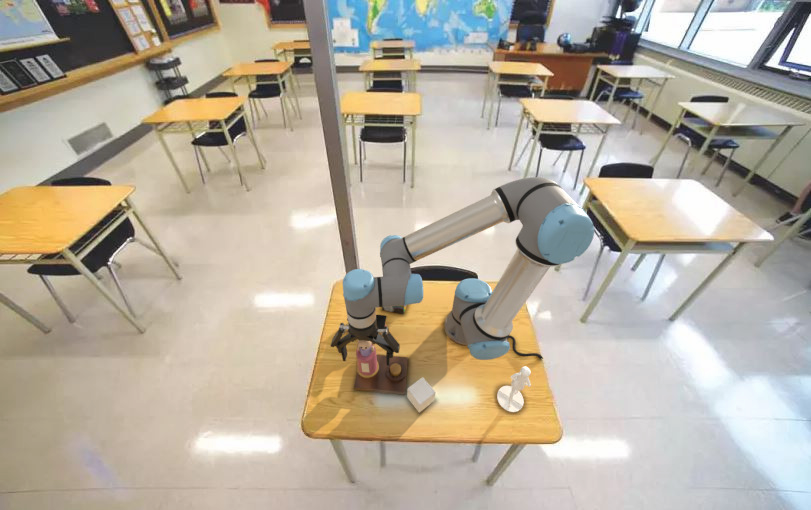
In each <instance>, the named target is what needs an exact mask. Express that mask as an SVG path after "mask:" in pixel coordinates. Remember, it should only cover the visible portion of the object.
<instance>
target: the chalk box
mask: <svg viewBox="0 0 811 510" xmlns="http://www.w3.org/2000/svg"><path fill="white" fill-rule="evenodd" d="M407 306H408V305H406V306H405V305H402V306H389V307H381V310H382V311H385V312H390V313H395V314H400V315H405V312H406V310H407Z"/></svg>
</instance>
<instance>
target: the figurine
mask: <svg viewBox="0 0 811 510" xmlns="http://www.w3.org/2000/svg"><path fill="white" fill-rule="evenodd" d="M531 373H532V371H531V369H530V368H529V367H528V366H522V367H521V368H520V369H519V372H515V373H514V374H512V375H511V376H510V379H511V382H510V385H503V386H501V387H500V388H499V389H498V390H497V393H496V400H497V402H498V404H499V405H500V407H501V408H502V409H503V410H505V411H507V412H509V413H517V412H519V411H521V410H522V408H523V407H524V404H525V401H524V397H523V394H522V393H521V391H523V390H524V389H525V386H526V387H529V388H530V387H531V386H532V384H531V380H530V378H529V377H530V376H531Z"/></svg>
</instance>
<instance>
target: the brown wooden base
mask: <svg viewBox="0 0 811 510" xmlns="http://www.w3.org/2000/svg"><path fill="white" fill-rule="evenodd" d="M376 356H377V361H378V364H379V370H378V372H377V373H376V375H374V376H373V377H370V378H364V377H362V376H360V375H359V373H358V371H357V370H356V377H355V381H354V386H353V390H354V391H359V392H360V391H361V392H371V393H381V394H389V395H391V394H392V395H401V396H405V395H406V385H407V373H408V364H409V357H408V356H407V357H406V356H396V355H393V358H390V363H389V365H387V360H386V354H376ZM395 363H397V364H399V365H400V366H401V374H400V375H399V376H396V377H395V376H392V375H391V373H390V367H391V365H392V364H395Z"/></svg>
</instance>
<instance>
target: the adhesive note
mask: <svg viewBox="0 0 811 510" xmlns="http://www.w3.org/2000/svg"><path fill="white" fill-rule="evenodd" d="M406 392H407V393H406V397H407V399H408V400H409V402H410V403H411V404H412V406H413V407H414V408H415V409H416V412H418V413H421V412H422V411H424V410H425V409H426V408H427V407H429V406H430V405H431V404H432V403H434V401H435V398H436V390H435V389H433V387H432V386H431V384H429V383H428V381H427V380H426V379H425V378H424V377H423V376H422V377H421V378H419V379H418V380H417V381H415V382H414V383H413V384H411V385H410V386H409V387H408V388H407V391H406Z"/></svg>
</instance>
